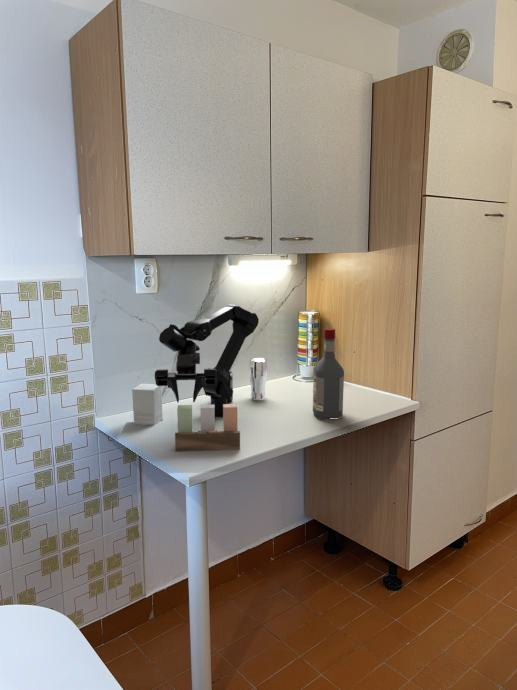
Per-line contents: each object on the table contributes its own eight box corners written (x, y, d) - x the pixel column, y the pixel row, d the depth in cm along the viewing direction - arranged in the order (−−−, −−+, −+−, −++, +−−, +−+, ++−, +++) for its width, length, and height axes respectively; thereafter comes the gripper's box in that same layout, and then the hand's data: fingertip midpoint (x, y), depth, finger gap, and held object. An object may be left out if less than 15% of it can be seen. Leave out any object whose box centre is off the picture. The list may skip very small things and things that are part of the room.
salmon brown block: (223, 440, 158) (223, 404, 156) (237, 439, 158) (236, 404, 156) (223, 444, 155) (223, 407, 153) (237, 443, 155) (237, 407, 153)
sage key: (178, 441, 157) (177, 405, 155) (192, 441, 157) (191, 405, 155) (178, 445, 154) (177, 408, 152) (192, 444, 154) (191, 408, 152)
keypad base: (177, 443, 158) (176, 423, 157) (238, 442, 160) (238, 421, 158) (175, 455, 150) (174, 433, 149) (240, 453, 151) (240, 431, 150)
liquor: (336, 411, 189) (339, 326, 184) (344, 419, 180) (347, 331, 175) (311, 411, 188) (313, 327, 182) (317, 420, 179) (319, 331, 174)
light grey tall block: (201, 440, 158) (200, 404, 155) (214, 440, 158) (214, 404, 156) (201, 444, 155) (200, 407, 153) (215, 444, 155) (214, 407, 153)
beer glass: (261, 395, 209) (261, 357, 206) (270, 399, 203) (271, 360, 200) (245, 397, 205) (245, 359, 202) (254, 402, 199) (254, 362, 196)
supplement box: (163, 421, 178) (162, 384, 176) (154, 428, 171) (153, 390, 169) (142, 419, 180) (141, 382, 177) (133, 426, 173) (131, 388, 170)
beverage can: (211, 401, 200) (211, 370, 198) (224, 398, 205) (224, 367, 202) (223, 405, 195) (222, 373, 193) (236, 401, 200) (236, 370, 198)
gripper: (154, 343, 161) (151, 389, 153) (216, 342, 163) (217, 387, 154) (157, 363, 171) (155, 407, 162) (216, 362, 172) (217, 405, 163)
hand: (185, 401), depth 160 cm, fingers open, 4 cm apart
